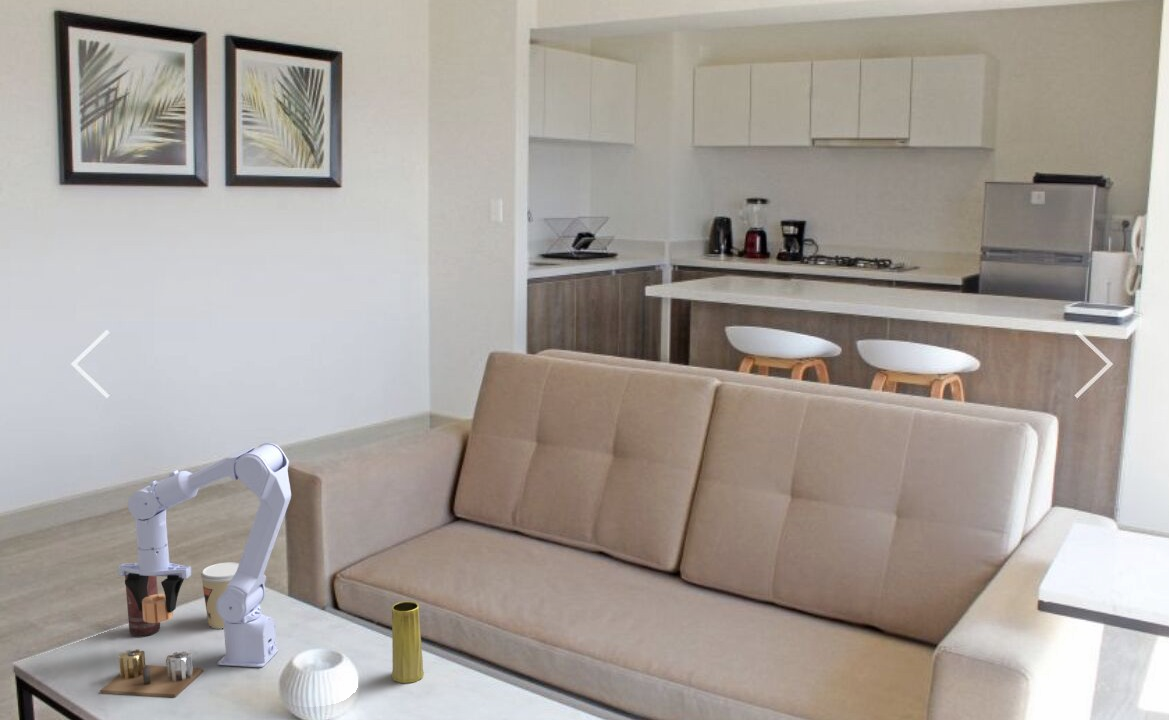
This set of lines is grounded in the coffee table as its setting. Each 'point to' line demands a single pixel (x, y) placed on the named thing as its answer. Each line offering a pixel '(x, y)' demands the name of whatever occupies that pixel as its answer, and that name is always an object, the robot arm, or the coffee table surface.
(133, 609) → the can
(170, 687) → the gear board
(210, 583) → the coffee cup
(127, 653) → the gear
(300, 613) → the coffee table surface
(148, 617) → the idler gear
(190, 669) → the gear
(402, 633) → the vase
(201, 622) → the coffee table surface
